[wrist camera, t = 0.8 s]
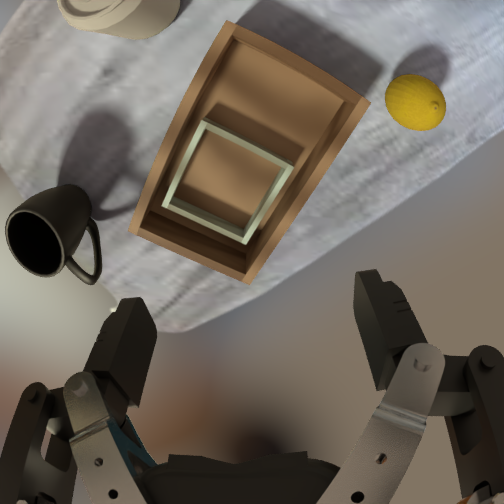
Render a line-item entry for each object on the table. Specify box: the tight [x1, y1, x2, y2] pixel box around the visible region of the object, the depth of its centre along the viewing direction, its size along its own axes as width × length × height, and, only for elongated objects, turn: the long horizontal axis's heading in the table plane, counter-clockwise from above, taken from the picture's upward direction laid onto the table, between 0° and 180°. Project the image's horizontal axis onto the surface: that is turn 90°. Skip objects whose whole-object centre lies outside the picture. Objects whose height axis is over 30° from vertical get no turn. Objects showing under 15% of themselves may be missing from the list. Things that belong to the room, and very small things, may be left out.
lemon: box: [385, 74, 446, 131], centre depth 24 cm, size 6×6×8 cm
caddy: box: [128, 20, 371, 285], centre depth 29 cm, size 22×14×5 cm, turn 151°
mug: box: [5, 184, 102, 285], centre depth 30 cm, size 8×12×10 cm
